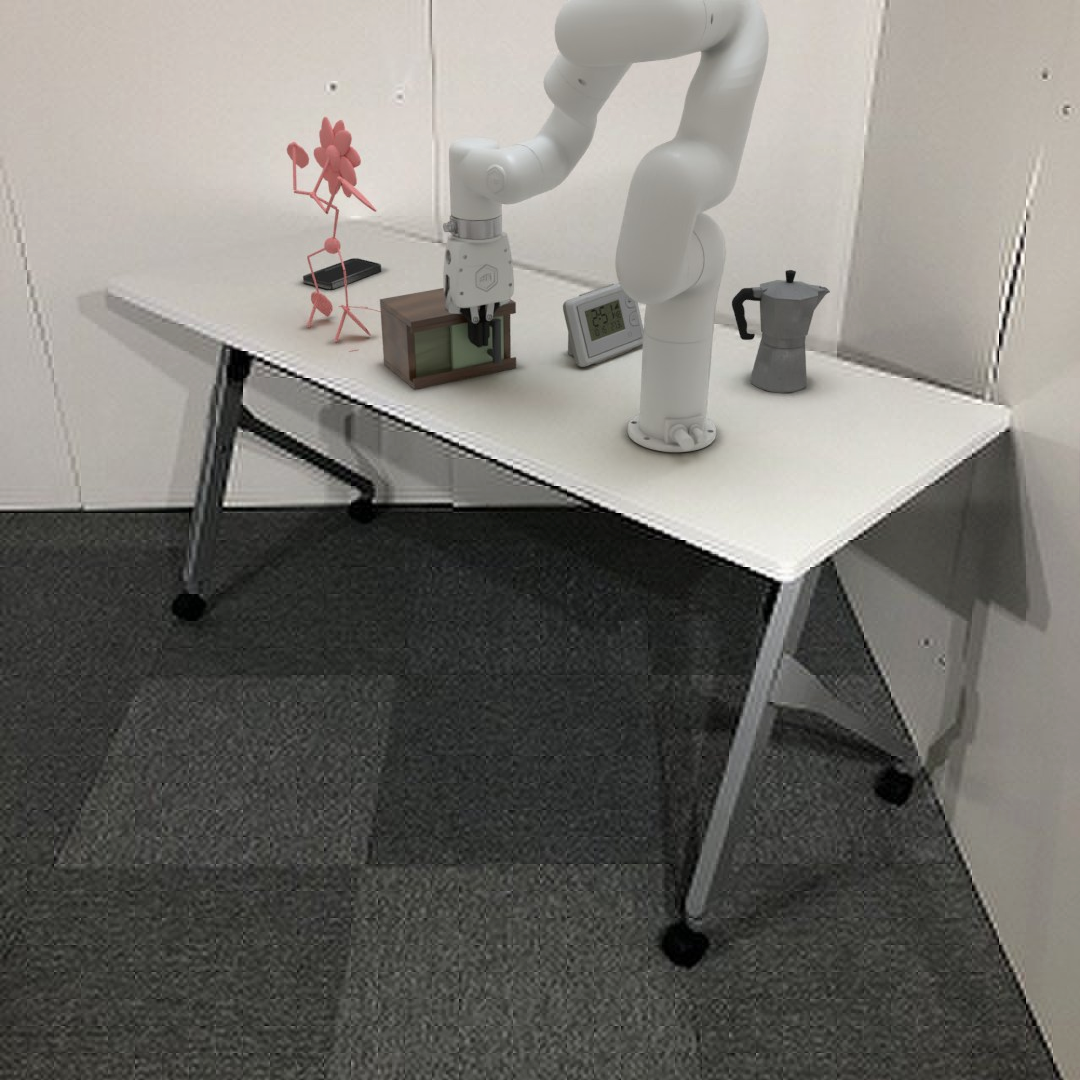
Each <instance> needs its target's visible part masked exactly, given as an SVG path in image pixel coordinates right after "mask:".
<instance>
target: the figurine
mask: <svg viewBox="0 0 1080 1080" xmlns="http://www.w3.org/2000/svg"><path fill="white" fill-rule="evenodd" d="M345 127H346V126H345V122H344V121H343V119H339V120H338V121H336V122H335V124H334V126H332V124H331V122H330V119H329V118H328V116H324V117H323V118H322V120H321V128H320V130H319V133H318V137H319V143H320V146H317V147H315V148H314V149H313V157H314V159H315V161H316V163H317V164H318V165H319V166H320V168H322V170H321V173H320V175H319V177H318V179H317V182H316V183H315V186H314V188H313V190H312V191H305V190H299V189H298V188H297V187H298V185H297V167H299V168H300V169H304V168H306V167H307V166H308V165H309V163H310V157H309V154H308V153H307V151H306V150H305V149H304V148H303V147H302V146H300V145H299V144H297V142H296V141H292V142H290V143H288V145H287V147H286V154H287V155H288V157H289V158H290V160H291V161H292V187H293V188H292V189H293V194H296V195H297V194H298V195H305V196H309V197H310V198H311V199H313V200H314V201H315V203H317V205H318V206H319V207H320V208H321V210H322V211H323V212H324V213H325V214H326V215H328V214H329V212H330V210H331V209H333V210H335V214H334V222H333V223H334V224H333V233H332V235H333V236H331V237H328V238H326V240H325V241H324V243H323V248H321V249H319V250H317V251H314V252H312V253H310V254H308V255H307V256H306V258H307V264H308V265H309V269H310V273H312V277H313V280H314V283H315V286H314V287H315V290H316V291H313V292H311V295H310V301H311V304H312V308H311V309H312V310H311V312H310V315H309V318H308V322H307V325H306V327H307V328H311V325H312V322H313V319H314V316H315V312H316V310H317V311H319V312H320V313H321V314H322V315H324V316H325V317H326V318H329V317H330V316H331V314H332V312H333V304H332V302H331V301H330V300H329V298H328V297H327V296H326V295H325V294H323V293H322V292H320V290H319V287H318V286H317V283H316V279H315V276H314V273H313V272H314V270H313V269H314V268H313V266H312V263H311V257H313V256H315V255H318V254H319V253H322V252H323V251H324V252H325V251H326V252H327V253H328V254H331V255H335V254H338V257H339V260H340V262H341V263H342V267H343V270H344V283H345V285H344V295H345V305H343V304H341V305H338V308H341V309H342V310H343V313H342V316H341V319H340V322H339V324H338V328H337V331H336V334H335V337H334V340H333V342H334V343H338V341H339V338H340V335H341V333H342V329H343V326H344V324H345V320H346V318H347V317H346V316H349V318H350V319H351V320H352V321H353V322H354V323H355V324H356V325H357V326H358V327H359V328H360V329H362V331H363V332H365V333H366V334H367V335H368V336H369V337H371V336H372V334H371V333H370V332H369V330H368V328H367V327H365V325H364V324H363V323H362V322H361V320H359V318H358V317H356V316H355V314H354V313H353V312H352V311H350V310H351V308H352V306H349V296H348V284H347V280H346V271H345V266H344V263H343V261H344V260H343V257H342V253H341V241H340V240H339V239H338V238H337V237H336V234H337V228H338V220H339V216H340V215H339V213H340V209H339V208H338V206H336V205H334V204H333V201H334V200H335V196H336V195H337V194H338V192H340V190H341V189H342V192H343V194H344V196H345V197H346V198H348V199H349V198H351V196H352V195H353V196H354V197H355V198H356V199H357V200H358V201H360V202H361V203H362V204H363V205H365V206H366V207H367V208H369V209H370V210H371V211H373V212H374V213H376V212H377V209H376V208H375V207H374V205H373V204H372V203H371V202H370V201H369V200H368V198H367V197H365V196H364V194H362V192H361V191H359V189H357V188H356V185H357V184H358V183H357V181H358V178H357V174H356V170H355V168H358V167H359V166H360V165H361V162H362V160H361V159H362V158H361V156H360V154H359V153H358V151H357V150H356V149H355V147H353V146H351V145H352V140H353V137H352V134H351V132H350V131H349V130H346V128H345ZM323 179H324V180H325V181H327V184H328V191H329V192H328V193H330V195H331V196H330V198H329V200H328V201H327V200H325V199H323V198H321V197H319V196H318V195H317V192H318V190H319V187H320V185H321V183H322V181H323ZM322 203H323V204H325V205H326V207H325V205H323V204H322ZM353 308H355V309H356V308H357V309H364V310H370V311H375V312H378V313H381V310H378V309H373V308H369V307H368V306H365V307H363V306H361V305H360V306H353ZM357 351H359V349H354V350H353V349H352V350H349V351H348V352H349V353H350V352H357Z"/></svg>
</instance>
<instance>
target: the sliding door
mask: <svg viewBox="0 0 1080 1080" xmlns="http://www.w3.org/2000/svg"><path fill="white" fill-rule="evenodd" d="M450 336H451V364H452V370H455V369H460V368H465V367H470V366H475V365H479V364H484V363H489V362H493V363H494V364H500V363H501V362H502V361H501V360H503V359H504V327H503V316H499V317H494V318H492V320H490V337H489V338H488V346H482V347H479V348H478V347H477V346H475V345H474V344H472V343H471V342H470V340H469V338H468V323H462V324H457V325H452V326H450Z"/></svg>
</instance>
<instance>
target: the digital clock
mask: <svg viewBox="0 0 1080 1080" xmlns="http://www.w3.org/2000/svg"><path fill="white" fill-rule="evenodd" d="M562 311H563V315H564V320H565V324H566V329H567V335H568V336H567V354H568V355H570V356H572V357H573V358H574V362H575V364H576V365H577V366H578V367H580V368H585V367H588V366H590V365H591V366H592V365H598V364H600V363H602V362H605V361H608V360H610V359H613V358H616V357H618V356H621V355H624V354H626V353H628V352H631V351H632V349H634V348H637V347H639V346H643V334H644V323H643V320H642V316H641V311H640V307H639V302H636V301H634V300H633V299H631V298H630V297H629V296H628V295H627V294H626V293H625V292H624V291H623V289H622V287H621V286H620V284H619V282H617V283H611V284H608V285H604V286H602V287H598V288H596V289H592V290H590V291H587V292H584V293H580V294H579V295H578V296H576V297H572V298H569V299H567V300H565V301H564V302H563V304H562Z"/></svg>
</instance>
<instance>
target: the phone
mask: <svg viewBox="0 0 1080 1080" xmlns="http://www.w3.org/2000/svg"><path fill="white" fill-rule="evenodd" d="M343 263H344V266H345V271H346V280H347V285H349V284H350V283H353V282H356V281H358V280H361V279H364V278H366V277H370V276H372V275H374V274H377V273H380V272H382V264H381V263H378V262H374V261H369V260H367V259H363V258H358V257H353V258H349V259H346V260H343ZM313 273H314V276H315V279H316V283H317V286H318V288H321V289H324V290H334V289H335V290H336V289H338V288H340V287H344V286H345V283H344V270H343V267H342V263H341V261H340V262H338V263H335V264H332V265H330V266H327V267H324V268H321V269H318V270H315V271H313ZM302 281H303V284H306V285H310V286H312V287H313V286H314V287H315V283H314V280H313V277H312V273H311V272H310V273H307V274H304V275H303V276H302Z"/></svg>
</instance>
